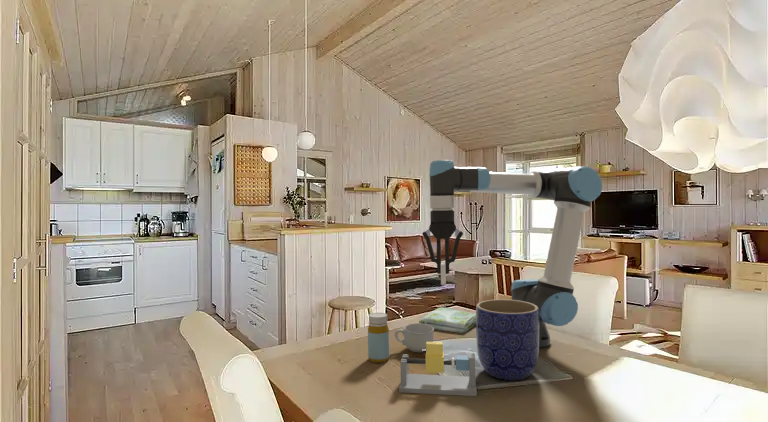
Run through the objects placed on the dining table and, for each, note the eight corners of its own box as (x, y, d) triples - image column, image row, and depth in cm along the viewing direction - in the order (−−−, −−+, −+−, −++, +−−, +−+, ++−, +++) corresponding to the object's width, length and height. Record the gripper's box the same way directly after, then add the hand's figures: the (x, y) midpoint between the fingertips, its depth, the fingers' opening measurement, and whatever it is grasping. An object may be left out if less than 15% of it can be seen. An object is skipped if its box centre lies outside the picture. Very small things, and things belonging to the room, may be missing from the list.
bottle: (367, 356, 149) (367, 312, 149) (388, 355, 150) (387, 311, 149) (368, 363, 142) (368, 318, 142) (390, 362, 143) (389, 317, 142)
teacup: (434, 344, 160) (433, 323, 159) (434, 355, 149) (434, 332, 149) (396, 344, 161) (395, 322, 161) (394, 354, 150) (393, 331, 150)
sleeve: (444, 367, 126) (443, 340, 125) (443, 373, 121) (443, 345, 121) (426, 366, 126) (426, 340, 126) (425, 372, 122) (425, 345, 122)
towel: (465, 335, 172) (465, 322, 172) (418, 327, 183) (417, 315, 183) (481, 323, 187) (481, 311, 187) (436, 317, 199) (436, 306, 198)
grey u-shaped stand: (475, 381, 127) (474, 349, 127) (476, 396, 117) (476, 362, 117) (403, 377, 130) (403, 347, 130) (399, 392, 120) (398, 359, 120)
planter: (496, 357, 145) (496, 296, 145) (550, 372, 132) (549, 305, 132) (464, 373, 132) (463, 306, 132) (520, 391, 119) (519, 317, 119)
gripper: (463, 209, 140) (464, 282, 140) (422, 209, 142) (423, 281, 142) (463, 209, 132) (464, 286, 133) (420, 210, 135) (421, 286, 135)
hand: (443, 284), depth 138 cm, fingers closed
